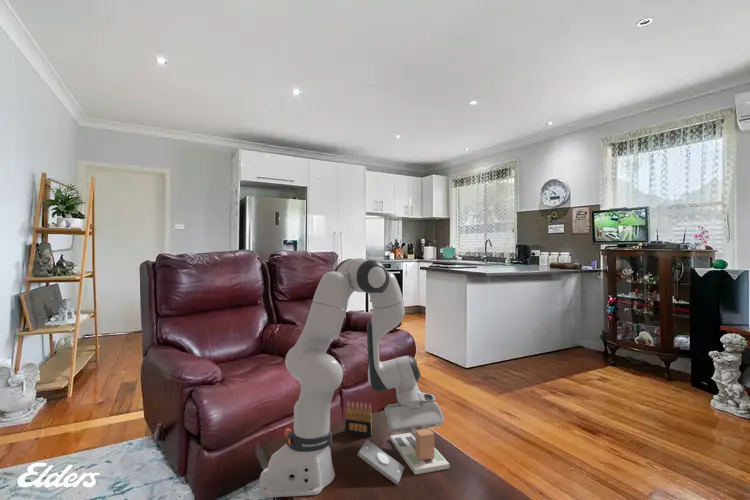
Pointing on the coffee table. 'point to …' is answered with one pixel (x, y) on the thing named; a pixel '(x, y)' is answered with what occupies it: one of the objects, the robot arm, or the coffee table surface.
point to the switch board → (407, 451)
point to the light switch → (381, 461)
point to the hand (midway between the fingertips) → (421, 441)
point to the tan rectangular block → (424, 444)
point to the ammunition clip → (358, 420)
